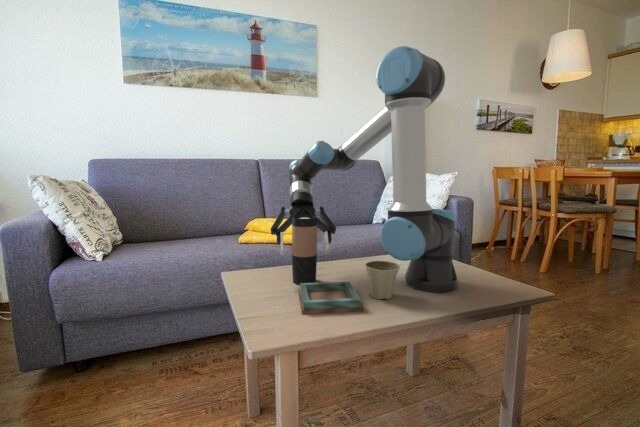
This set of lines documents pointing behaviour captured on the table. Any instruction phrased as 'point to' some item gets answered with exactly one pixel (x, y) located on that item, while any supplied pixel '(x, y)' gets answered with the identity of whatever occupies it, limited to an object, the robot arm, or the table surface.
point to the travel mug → (304, 249)
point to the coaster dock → (328, 297)
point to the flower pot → (381, 278)
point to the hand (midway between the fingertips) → (305, 252)
